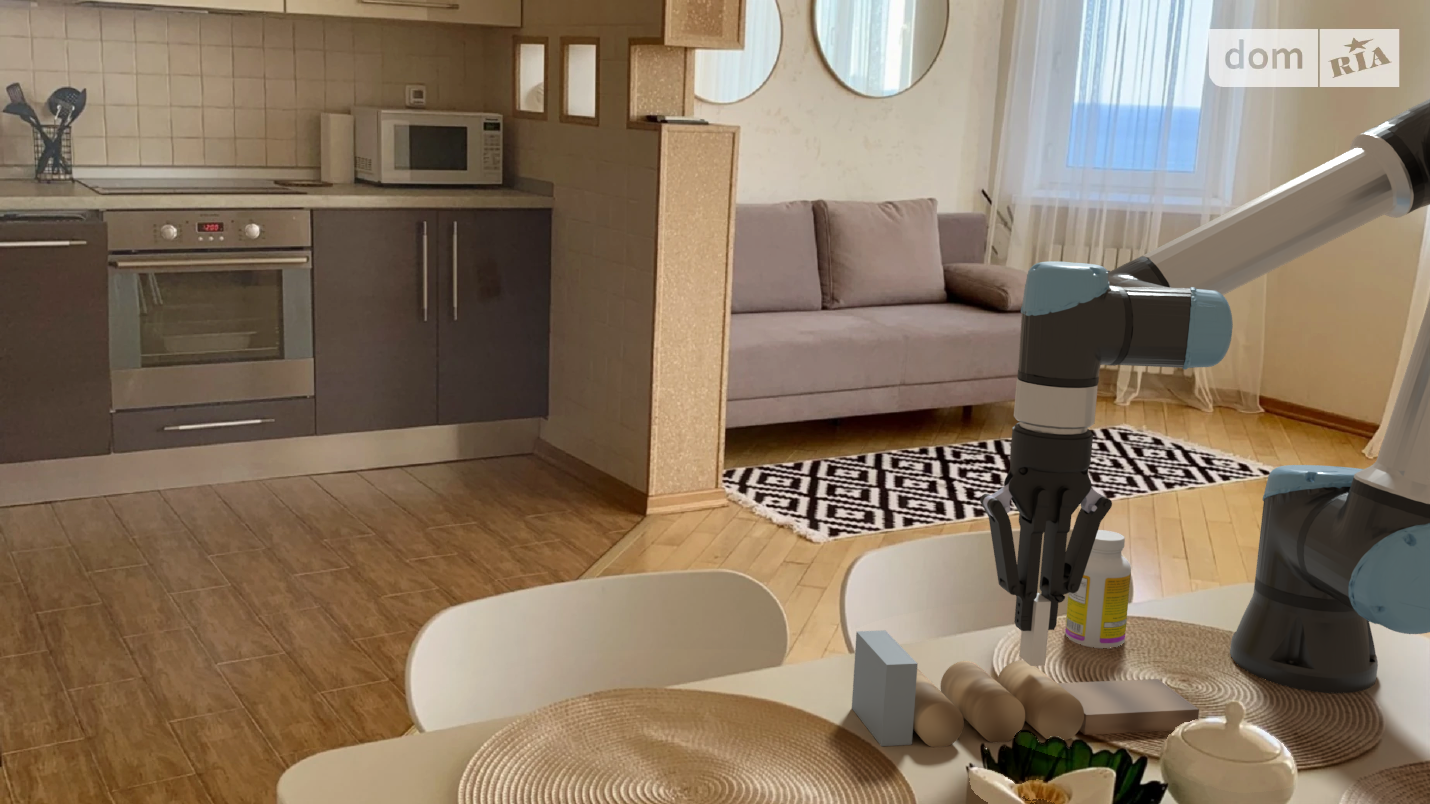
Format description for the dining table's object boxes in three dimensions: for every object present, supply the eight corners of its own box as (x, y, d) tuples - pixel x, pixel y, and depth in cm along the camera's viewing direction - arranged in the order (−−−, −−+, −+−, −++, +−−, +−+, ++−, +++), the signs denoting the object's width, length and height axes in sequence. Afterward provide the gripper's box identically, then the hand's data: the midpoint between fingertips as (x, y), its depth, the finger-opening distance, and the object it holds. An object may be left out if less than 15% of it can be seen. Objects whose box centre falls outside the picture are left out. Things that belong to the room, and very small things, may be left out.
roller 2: (933, 674, 140) (975, 652, 141) (949, 714, 142) (991, 692, 142) (971, 710, 132) (1015, 686, 133) (988, 752, 133) (1031, 728, 134)
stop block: (880, 706, 140) (885, 630, 139) (911, 744, 132) (917, 663, 130) (851, 708, 140) (856, 631, 138) (881, 746, 131) (886, 664, 130)
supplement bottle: (1128, 639, 163) (1138, 532, 161) (1119, 657, 157) (1129, 546, 155) (1070, 629, 166) (1079, 523, 164) (1058, 646, 160) (1068, 537, 158)
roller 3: (1046, 667, 143) (1029, 710, 143) (1006, 655, 141) (989, 698, 142) (1091, 701, 134) (1072, 747, 135) (1049, 689, 133) (1030, 735, 133)
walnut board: (1155, 701, 146) (1157, 678, 146) (1196, 733, 138) (1199, 709, 138) (1048, 706, 144) (1050, 683, 143) (1084, 739, 136) (1086, 714, 135)
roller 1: (931, 690, 142) (895, 714, 141) (912, 656, 141) (875, 680, 140) (971, 731, 132) (932, 756, 132) (951, 695, 131) (911, 720, 130)
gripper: (1097, 417, 139) (1075, 645, 143) (973, 417, 136) (955, 649, 140) (1135, 433, 132) (1111, 672, 136) (1005, 433, 129) (985, 677, 133)
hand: (1032, 660), depth 138 cm, fingers closed
